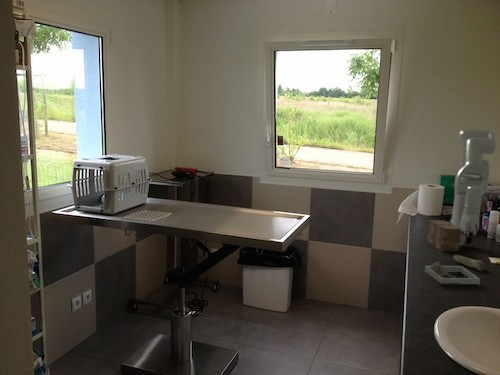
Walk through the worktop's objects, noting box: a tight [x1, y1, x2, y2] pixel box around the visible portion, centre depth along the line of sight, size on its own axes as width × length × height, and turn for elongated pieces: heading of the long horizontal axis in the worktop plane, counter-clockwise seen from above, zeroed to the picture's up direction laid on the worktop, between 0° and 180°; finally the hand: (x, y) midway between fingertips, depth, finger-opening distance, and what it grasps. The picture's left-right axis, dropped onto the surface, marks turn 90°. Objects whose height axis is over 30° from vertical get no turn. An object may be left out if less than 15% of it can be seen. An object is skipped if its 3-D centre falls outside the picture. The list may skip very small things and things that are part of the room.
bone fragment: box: [452, 254, 486, 272], centre depth 211 cm, size 14×6×5 cm, turn 32°
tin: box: [459, 231, 467, 247], centre depth 240 cm, size 15×3×8 cm, turn 90°
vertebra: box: [432, 260, 458, 278], centre depth 195 cm, size 12×8×10 cm
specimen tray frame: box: [424, 265, 481, 285], centre depth 195 cm, size 15×17×3 cm
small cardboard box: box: [425, 219, 463, 252], centre depth 240 cm, size 17×13×12 cm
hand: (467, 243), depth 242 cm, fingers closed
